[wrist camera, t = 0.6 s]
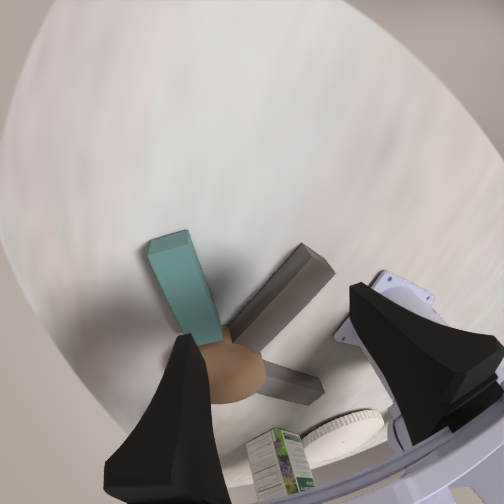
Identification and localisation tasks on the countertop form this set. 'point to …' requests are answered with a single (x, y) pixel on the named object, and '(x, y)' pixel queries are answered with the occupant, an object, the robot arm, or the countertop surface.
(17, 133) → the countertop surface
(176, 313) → the teal rectangular block
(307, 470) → the syrup box
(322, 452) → the plastic lid
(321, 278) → the grey brown t-shaped piece
